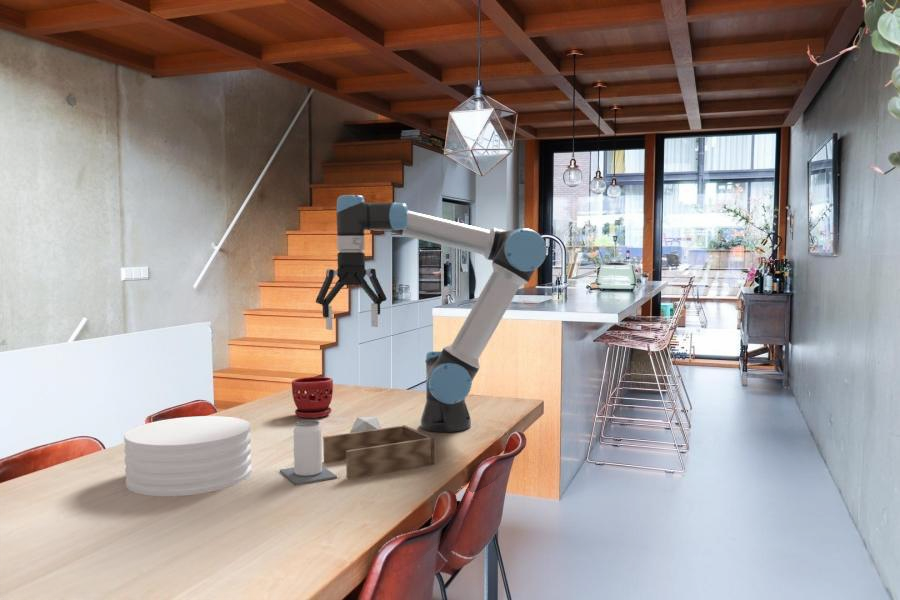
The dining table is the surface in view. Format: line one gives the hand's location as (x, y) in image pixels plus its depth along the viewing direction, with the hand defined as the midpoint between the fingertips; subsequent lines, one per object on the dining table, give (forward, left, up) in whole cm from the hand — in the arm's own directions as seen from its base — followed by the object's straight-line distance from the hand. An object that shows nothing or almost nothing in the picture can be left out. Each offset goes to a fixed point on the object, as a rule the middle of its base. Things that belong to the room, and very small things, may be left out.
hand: (352, 328), depth 202 cm
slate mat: (+22, +24, -32) cm, 45 cm away
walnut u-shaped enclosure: (+4, +24, -32) cm, 40 cm away
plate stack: (+46, +10, -32) cm, 57 cm away
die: (0, +9, -32) cm, 33 cm away
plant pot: (-1, -36, -32) cm, 48 cm away
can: (+22, +24, -31) cm, 45 cm away
